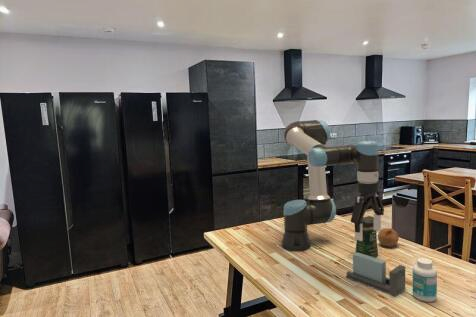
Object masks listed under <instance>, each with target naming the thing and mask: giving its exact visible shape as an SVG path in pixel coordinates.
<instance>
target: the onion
mask: <svg viewBox="0 0 476 317" xmlns="http://www.w3.org/2000/svg"><path fill="white" fill-rule="evenodd" d="M377 233H378V235H377V240H378V241H379V243H380V245H382V246H384V247H388V248H392V247H394V246H396V245H397V244H398V242H399V238H400V237H399V233H398V232H397V231H396V230H395V229H393V228H390V227H385V228H381V231H378V232H377Z"/></svg>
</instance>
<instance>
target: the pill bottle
mask: <svg viewBox="0 0 476 317" xmlns="http://www.w3.org/2000/svg"><path fill="white" fill-rule="evenodd" d="M433 265H434V264H433V260H431V259H429V258H426V257H418V258H416V264H414V265H413V266H412V295H413V297H415V298H416V299H418V300H419V301H422V302H429V303H430V302H435V301H436V300H437V296H438V288H437V287H438V271H437V269H436V267H434V266H433Z"/></svg>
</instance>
